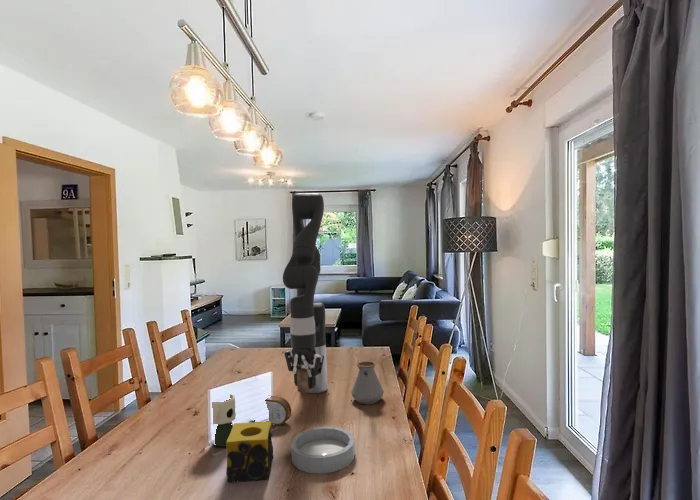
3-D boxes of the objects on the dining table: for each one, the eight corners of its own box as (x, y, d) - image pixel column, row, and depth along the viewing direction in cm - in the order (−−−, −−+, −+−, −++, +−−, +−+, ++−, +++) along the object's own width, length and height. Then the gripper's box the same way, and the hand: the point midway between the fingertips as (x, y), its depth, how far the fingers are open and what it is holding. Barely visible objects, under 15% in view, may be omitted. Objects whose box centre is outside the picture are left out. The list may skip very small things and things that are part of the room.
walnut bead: (294, 391, 121) (293, 371, 121) (304, 385, 125) (303, 366, 125) (306, 393, 119) (305, 373, 118) (315, 388, 122) (315, 368, 122)
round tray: (278, 462, 102) (277, 447, 102) (316, 435, 116) (316, 422, 116) (331, 480, 94) (330, 464, 93) (365, 448, 107) (365, 434, 107)
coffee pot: (352, 394, 147) (351, 353, 147) (383, 393, 146) (382, 353, 146) (348, 419, 126) (346, 372, 126) (385, 419, 125) (383, 371, 125)
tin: (292, 423, 125) (291, 396, 125) (287, 427, 122) (286, 400, 122) (250, 418, 130) (249, 392, 129) (245, 422, 127) (244, 396, 126)
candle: (234, 460, 104) (233, 422, 104) (273, 457, 105) (272, 419, 105) (225, 484, 94) (224, 441, 94) (269, 480, 95) (267, 438, 94)
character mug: (229, 453, 108) (227, 405, 108) (203, 453, 108) (201, 405, 108) (242, 434, 119) (240, 390, 118) (218, 434, 119) (217, 391, 119)
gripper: (276, 331, 122) (279, 387, 122) (314, 336, 114) (316, 395, 115) (292, 326, 128) (294, 379, 129) (329, 330, 120) (331, 386, 121)
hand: (305, 386), depth 122 cm, fingers closed on walnut bead, 4 cm apart
